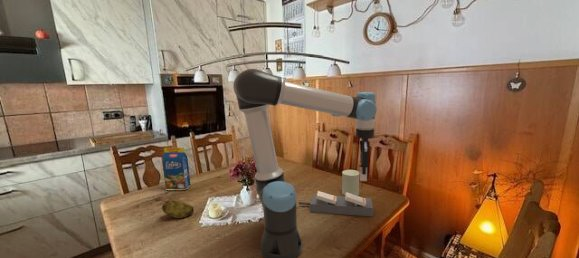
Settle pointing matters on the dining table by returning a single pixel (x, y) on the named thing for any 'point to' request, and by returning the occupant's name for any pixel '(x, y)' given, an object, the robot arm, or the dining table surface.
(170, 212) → the olive green oval lump
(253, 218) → the dining table surface
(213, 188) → the dining table surface
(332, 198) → the block
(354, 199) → the small box
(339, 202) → the rocker switch panel
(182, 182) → the blue food package
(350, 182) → the can
